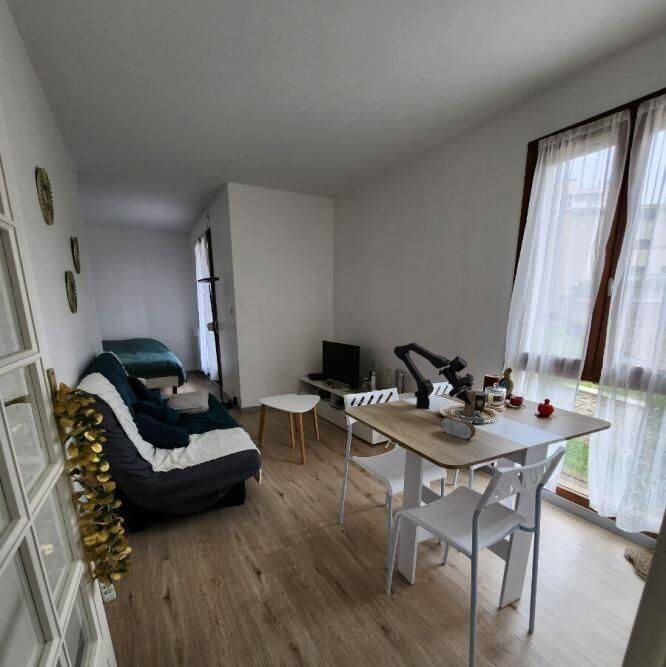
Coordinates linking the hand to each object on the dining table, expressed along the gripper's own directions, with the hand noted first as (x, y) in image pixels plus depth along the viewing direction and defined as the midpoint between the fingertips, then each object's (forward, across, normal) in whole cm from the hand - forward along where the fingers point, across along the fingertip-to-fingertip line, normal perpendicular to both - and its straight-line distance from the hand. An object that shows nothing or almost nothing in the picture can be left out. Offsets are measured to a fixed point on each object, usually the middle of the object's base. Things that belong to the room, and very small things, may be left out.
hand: (472, 403), depth 160 cm
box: (+6, 0, +7) cm, 9 cm away
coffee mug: (+3, +17, +10) cm, 20 cm away
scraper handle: (+4, 0, +6) cm, 7 cm away
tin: (+8, -24, +5) cm, 26 cm away
